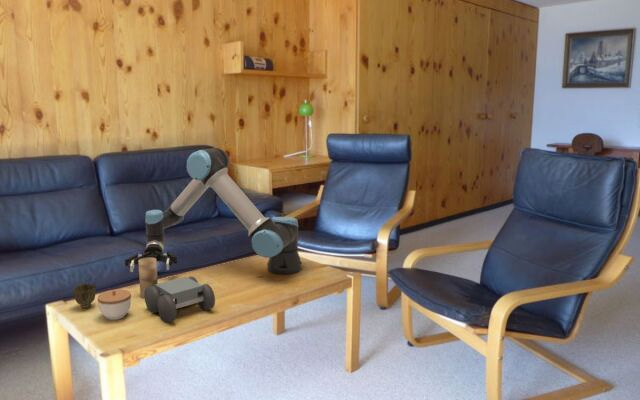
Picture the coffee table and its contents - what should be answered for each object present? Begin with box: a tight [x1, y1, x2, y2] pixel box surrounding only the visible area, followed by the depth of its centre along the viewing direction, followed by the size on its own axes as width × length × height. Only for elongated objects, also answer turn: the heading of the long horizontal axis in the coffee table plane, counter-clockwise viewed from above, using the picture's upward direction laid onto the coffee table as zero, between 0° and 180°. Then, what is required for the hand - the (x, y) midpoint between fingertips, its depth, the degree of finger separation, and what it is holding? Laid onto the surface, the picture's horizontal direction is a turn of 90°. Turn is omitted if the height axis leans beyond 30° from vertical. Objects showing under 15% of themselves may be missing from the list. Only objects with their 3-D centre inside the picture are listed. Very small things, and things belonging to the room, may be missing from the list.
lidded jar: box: [96, 288, 132, 321], centre depth 181 cm, size 11×11×9 cm
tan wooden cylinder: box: [138, 257, 158, 299], centre depth 199 cm, size 6×6×14 cm
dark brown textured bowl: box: [72, 282, 97, 310], centre depth 187 cm, size 8×7×8 cm
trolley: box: [143, 276, 216, 323], centre depth 186 cm, size 17×19×10 cm
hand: (149, 267), depth 207 cm, fingers open, 13 cm apart
